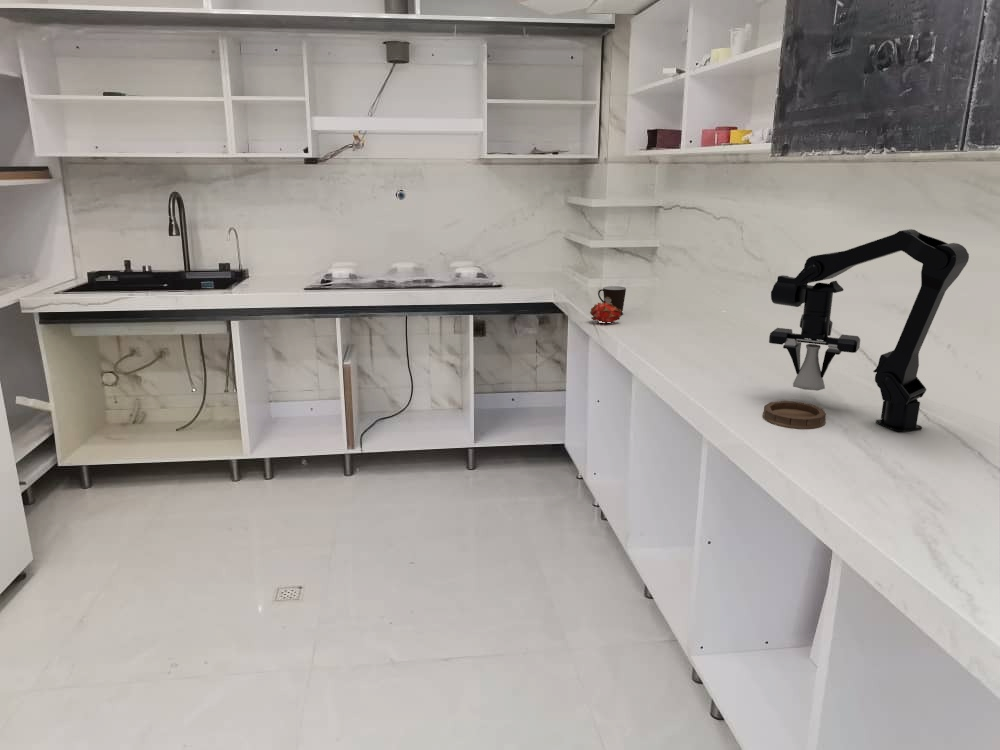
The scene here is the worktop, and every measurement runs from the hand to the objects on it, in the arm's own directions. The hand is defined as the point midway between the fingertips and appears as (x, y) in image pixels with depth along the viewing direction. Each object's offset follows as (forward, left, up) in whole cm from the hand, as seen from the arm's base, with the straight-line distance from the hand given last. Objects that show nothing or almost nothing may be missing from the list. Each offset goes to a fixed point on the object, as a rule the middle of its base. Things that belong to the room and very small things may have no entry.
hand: (809, 375), depth 169 cm
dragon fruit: (+98, +7, -7) cm, 98 cm away
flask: (0, 0, -3) cm, 3 cm away
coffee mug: (+114, -3, -7) cm, 114 cm away
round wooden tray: (-8, +10, -7) cm, 14 cm away
